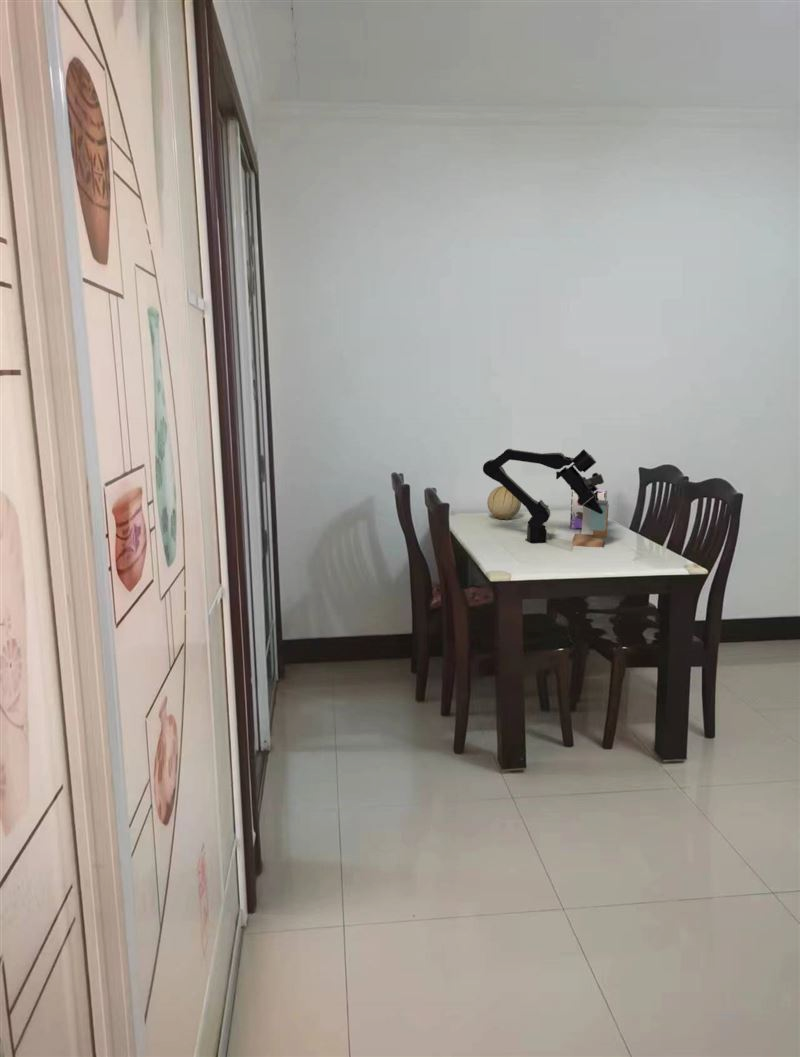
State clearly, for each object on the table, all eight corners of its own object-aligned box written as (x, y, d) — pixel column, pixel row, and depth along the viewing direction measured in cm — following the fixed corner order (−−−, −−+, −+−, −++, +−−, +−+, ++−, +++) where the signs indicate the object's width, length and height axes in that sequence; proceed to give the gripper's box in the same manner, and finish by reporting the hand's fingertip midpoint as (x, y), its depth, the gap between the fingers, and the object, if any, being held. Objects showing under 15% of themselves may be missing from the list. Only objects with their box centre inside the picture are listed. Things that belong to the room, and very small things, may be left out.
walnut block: (572, 546, 299) (572, 539, 298) (574, 541, 309) (575, 533, 308) (602, 548, 295) (602, 541, 295) (603, 543, 306) (604, 535, 305)
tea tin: (589, 529, 296) (591, 501, 294) (590, 526, 301) (592, 499, 299) (604, 531, 294) (607, 503, 292) (605, 528, 300) (608, 500, 298)
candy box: (569, 528, 331) (571, 489, 327) (571, 526, 336) (573, 487, 333) (603, 531, 326) (605, 491, 322) (605, 528, 331) (607, 489, 328)
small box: (593, 538, 312) (594, 505, 309) (581, 535, 317) (582, 503, 314) (607, 536, 316) (609, 503, 314) (595, 533, 321) (597, 501, 319)
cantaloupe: (485, 520, 347) (486, 486, 344) (488, 515, 361) (489, 482, 358) (519, 522, 344) (520, 488, 341) (521, 516, 358) (522, 483, 355)
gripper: (589, 469, 286) (618, 502, 285) (593, 463, 303) (621, 494, 302) (565, 489, 290) (594, 521, 289) (571, 482, 307) (598, 513, 306)
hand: (602, 512), depth 296 cm, fingers closed on tea tin, 5 cm apart
